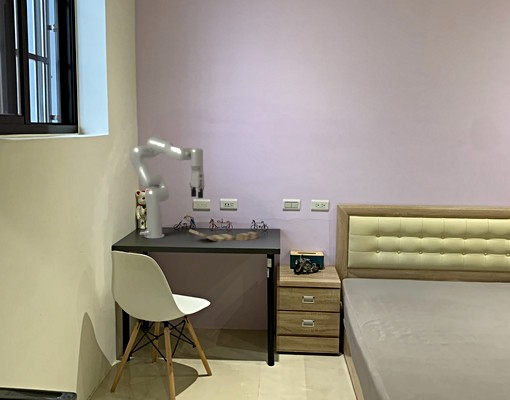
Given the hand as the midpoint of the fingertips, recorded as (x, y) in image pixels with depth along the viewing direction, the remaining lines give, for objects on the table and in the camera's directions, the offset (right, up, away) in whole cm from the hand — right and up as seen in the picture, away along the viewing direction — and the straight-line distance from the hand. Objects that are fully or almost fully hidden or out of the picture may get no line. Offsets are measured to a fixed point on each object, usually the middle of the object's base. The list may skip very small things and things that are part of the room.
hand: (197, 197), depth 352 cm
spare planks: (+31, -27, +15) cm, 43 cm away
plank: (+3, -24, +5) cm, 25 cm away
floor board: (+15, -27, +14) cm, 33 cm away
